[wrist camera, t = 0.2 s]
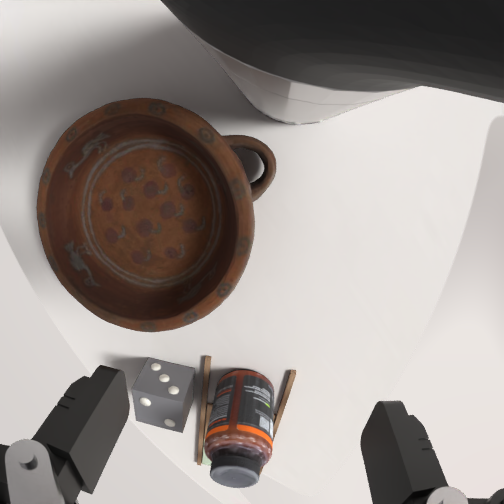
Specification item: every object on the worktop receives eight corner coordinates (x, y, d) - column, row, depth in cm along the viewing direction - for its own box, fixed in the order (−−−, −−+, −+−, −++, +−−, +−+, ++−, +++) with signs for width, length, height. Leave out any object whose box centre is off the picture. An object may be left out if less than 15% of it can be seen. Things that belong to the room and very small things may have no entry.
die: (147, 356, 31) (130, 388, 26) (194, 367, 31) (182, 402, 26) (149, 389, 33) (134, 420, 28) (192, 399, 33) (182, 433, 28)
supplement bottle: (211, 397, 32) (190, 482, 22) (226, 359, 30) (204, 452, 20) (264, 411, 32) (256, 497, 22) (283, 376, 30) (281, 470, 20)
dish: (30, 191, 26) (-3, 203, 21) (213, 49, 21) (198, 30, 16) (118, 334, 31) (98, 362, 26) (319, 240, 26) (328, 264, 21)
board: (206, 355, 30) (205, 358, 30) (295, 370, 30) (296, 373, 29) (197, 462, 37) (197, 464, 37) (260, 472, 37) (260, 474, 37)
